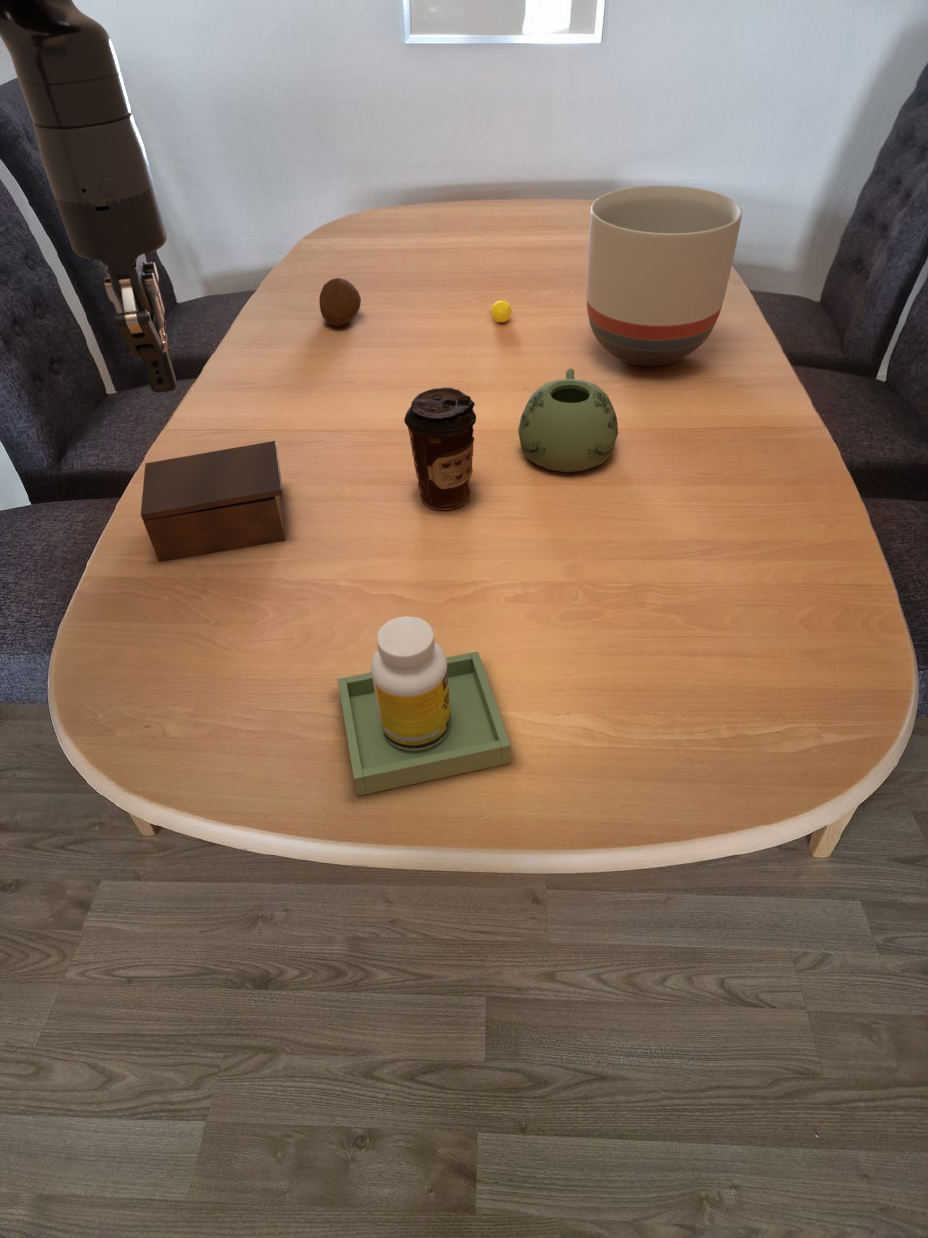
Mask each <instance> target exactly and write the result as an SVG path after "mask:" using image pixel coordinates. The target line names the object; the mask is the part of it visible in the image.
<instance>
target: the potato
mask: <svg viewBox="0 0 928 1238" xmlns="http://www.w3.org/2000/svg"><path fill="white" fill-rule="evenodd" d="M361 302H362V298H361V295H360V292H359V291H358V290H357V288H356V286H355V285H354V284H353V283H351V281H349V280H347V279H345V278H340V277H335V278H331V279H330V280H328V281H327V282H326V283H324V284H323V285H322V289H321V291H320V294H319V301H318V303H319V310H320V314H321V316H322V318H323V319H324V321H325V322H326V323H328V324H329V325H330V326H331V325H332V326H336V327H338V326H344V325H346V324H348V323H349V322H350V321H352V320H353V319H354V318H355V317H356V316H357V314H358V312H359V310H360V308H361Z"/></svg>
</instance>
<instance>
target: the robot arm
mask: <svg viewBox="0 0 928 1238" xmlns="http://www.w3.org/2000/svg"><path fill="white" fill-rule="evenodd" d="M0 38H1V40H2V42H3V43H4V45H5V48H6V49H7V51H8V53H9V55H10V58H11V61H12V64H13V67H14V71H15V74H16V77H17V80H18V84H19V86H20V89H21V92H22V95H23V98H24V101H25V104H26V107H27V110H28V113H29V116H30V118H31V121H32V125H33V128H34V131H35V136H36V140H37V145H38V150H39V154H40V158H41V162H42V165H43V168H44V171H45V174H46V176H47V179H48V182H49V185H50V189H51V192H52V194H53V197H54V200H55V202H56V205H57V206H56V207H57V208H58V213H59V214H60V217H61V220H62V223H63V226H64V229H65V232H66V235H67V238H68V241H69V243H70V246H71V249H72V251H73V253H75V254H76V255H78V256H79V257H80V258H83V259H85V260H89V261H98V262H101V263H104V264H105V265H106V268H105V270H106V275H107V277H106V278H103V285H104V288H105V291H106V294H107V297H108V299H109V301H110V302H111V303H112V304H113V305H114V308H115V311H116V313H114V319H113V321H114V325H115V326H116V327H117V329H118V330H119V332H120V334H121V336H122V337H123V340H124V341H125V343H126V345H127V346H128V348H129V350H130V352H131V354H132V355H133V357H134V359H136V358H137V359H138V358H140V359H141V362H142V365H143V368H144V371H145V374H146V377H147V381H148V384H149V388H150V390H151V391H152V392H153V393H156V394H158V393H159V394H160V393H165V392H173V391H175V389H176V387H177V378H176V373H175V371H174V367H173V364H172V360H171V356H170V354H169V350H168V340H169V339H168V334H167V333H166V332H165V331H166V329H167V321H166V319H165V311H166V309H165V306H164V303H163V299H162V296H161V290H160V288H159V280H160V277H159V273H158V270H157V266H156V263H155V262H152V261H147V257H146V255H149V254H152V253H154V252H156V251H158V250H159V249H160V248H162V247H163V246H164V245H165V244H166V242H167V240H168V232H167V228H166V224H165V220H164V216H163V213H162V209H161V205H160V201H159V198H158V194H157V191H156V187H155V183H154V179H153V175H152V172H151V167H150V164H149V160H148V157H147V152H146V148H145V146H144V145H145V144H144V142H143V140H142V137H141V135H140V132H139V130H138V127H137V125H136V122H135V119H134V116H133V112H131V111H132V107H131V105H130V101H129V97H128V93H127V90H126V86H125V81H124V78H123V74H122V71H121V67H120V63H119V60H118V57H117V54H116V49H115V46H114V44H113V42H112V38H111V37H110V35H109V33H108V31H107V30H106V29H105V28H104V27H103V25H102V24H101V23H99V22H98V21H96V20H95V19H93V18H92V17H90V16H88V15H86V14H84V13H83V12H82V10H81V11H80V10H79V8H78V7H77V6H76V4H75V3H74V2H73V0H0Z"/></svg>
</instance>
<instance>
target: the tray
mask: <svg viewBox="0 0 928 1238" xmlns="http://www.w3.org/2000/svg"><path fill="white" fill-rule="evenodd" d="M446 660H447V670H448V684H449V697H450V710H451V724H450V728H449V731H448V732H447V734H446V736H445V737H444V738H443V739H442V740H441V741H440V742H439V743H437V744H436V745H434V746H432V747H430V748H427V749H424V750H417V751H410V750H404V749H401V748H398V747H396V746H394V745H393V744H391V743H390V742H389V741H388V740H387V739H386V738H385V736H384V734H383V732H382V729H381V725H380V719H379V712H378V707H377V701H376V695H375V690H374V684H373V679H372V674H371V671H370V672H365V673H360V674H356V675H350V676H344V677H338V678H337V680H336V681H337V687H338V692H339V697H340V704H341V709H342V716H343V722H344V728H345V729H344V730H345V735H346V741H347V745H348V753H349V758H350V765H351V770H352V777H353V783H354V787H355V790H356V795H357V797H360V796H365V795H370V794H374V793H379V792H383V791H388V790H392V789H397V788H402V787H406V786H411V785H415V784H421V783H423V782H424V783H426V782H430V781H434V780H439V779H443V778H447V777H452V776H453V777H454V776H458V775H461V774H467V773H472V772H475V771H480V770H485V769H489V768H494V767H499V766H503V765H507V764H511V751H512V749H511V748H512V747H511V746H512V745H511V741H510V740H509V737H508V733H507V730H506V728H505V725H504V722H503V719H502V717H501V714H500V710H499V707H498V705H497V702H496V699H495V696H494V693H493V690H492V688H491V684H490V681H489V679H488V676H487V672H486V670H485V667H484V664H483V661H482V658H481V656H480V652H479V651H473V652H468V653H463V654H458V655H453V656H448V657H447V656H446Z"/></svg>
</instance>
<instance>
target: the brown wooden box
mask: <svg viewBox="0 0 928 1238" xmlns="http://www.w3.org/2000/svg"><path fill="white" fill-rule="evenodd" d="M282 507H283V506H282V500H281V495H280V496H274V497H269V498H264V499H258V500H253V501H247V502H242V503H236V504H231V505H225V506H220V507H214V508H209V509H203V510H198V511H193V512H187V513H182V514H176V515H171V516H165V517H160V518H154V519H149V520H143V519H142V522H143V524H144V527H145V530H146V532H147V535H148V537H149V540H150V543H151V545H152V548H153V551H154V553H155V556H156V559H157V561H158V562H163V561H170V560H176V559H181V558H187V557H192V556H199V555H205V554H210V553H216V552H222V551H223V552H224V551H228V550H235V549H240V548H246V547H253V546H258V545H265V544H270V543H274V542H275V543H276V542H281V541H282V542H283V541H286V532H285V524H284V517H283V508H282Z"/></svg>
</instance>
